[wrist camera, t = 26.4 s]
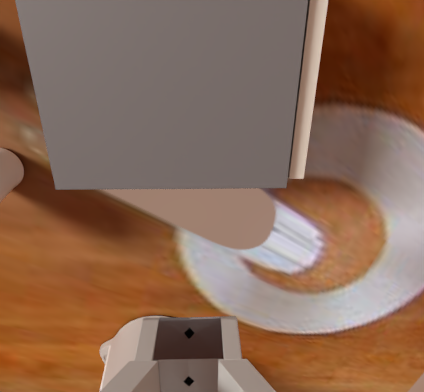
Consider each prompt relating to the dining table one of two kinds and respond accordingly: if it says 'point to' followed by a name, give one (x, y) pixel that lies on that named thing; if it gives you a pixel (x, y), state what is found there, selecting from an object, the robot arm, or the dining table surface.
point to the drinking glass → (9, 172)
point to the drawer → (307, 86)
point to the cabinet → (165, 90)
